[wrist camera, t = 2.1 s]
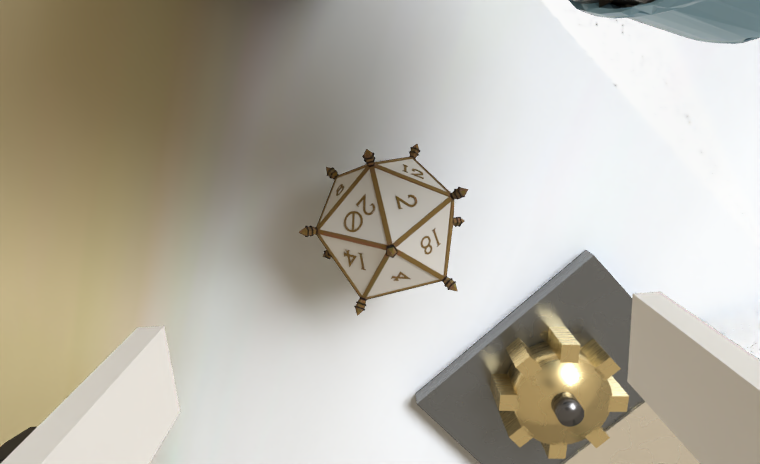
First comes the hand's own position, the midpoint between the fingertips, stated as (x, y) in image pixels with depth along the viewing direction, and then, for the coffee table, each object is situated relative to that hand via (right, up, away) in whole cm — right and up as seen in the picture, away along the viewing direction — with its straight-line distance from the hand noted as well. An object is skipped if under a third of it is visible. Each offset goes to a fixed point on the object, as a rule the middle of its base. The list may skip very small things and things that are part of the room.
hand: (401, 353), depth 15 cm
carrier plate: (+15, -10, +22) cm, 29 cm away
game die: (0, +5, +18) cm, 19 cm away
